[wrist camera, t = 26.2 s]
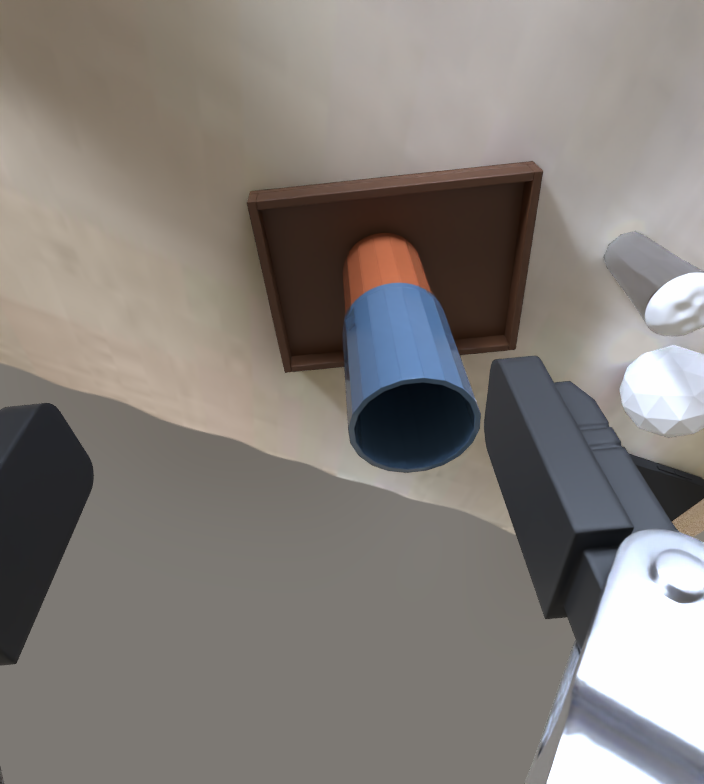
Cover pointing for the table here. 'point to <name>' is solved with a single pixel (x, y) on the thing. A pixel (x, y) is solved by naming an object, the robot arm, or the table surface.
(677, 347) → the geometric ball
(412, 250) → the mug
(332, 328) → the tray
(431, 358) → the glass
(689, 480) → the smart home device
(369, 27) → the table surface
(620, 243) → the milkshake
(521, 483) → the robot arm
